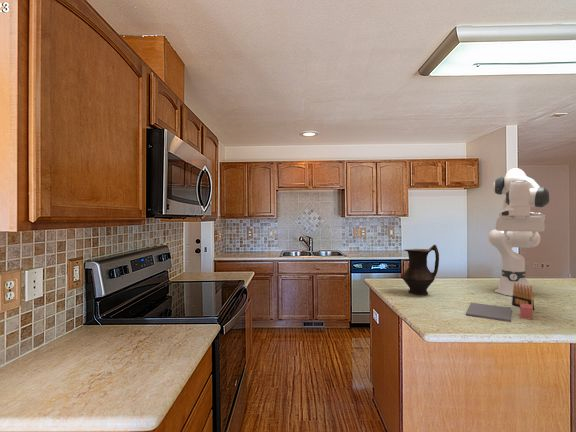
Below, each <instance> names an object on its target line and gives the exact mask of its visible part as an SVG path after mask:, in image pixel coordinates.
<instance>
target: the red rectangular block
mask: <svg viewBox="0 0 576 432" xmlns="http://www.w3.org/2000/svg"><path fill="white" fill-rule="evenodd" d="M519 315H520V316H519V317H520V318H521V319H528V318H529V319H528V320H533V310H532V305H531V304H522V303H520V307H519Z"/></svg>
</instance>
